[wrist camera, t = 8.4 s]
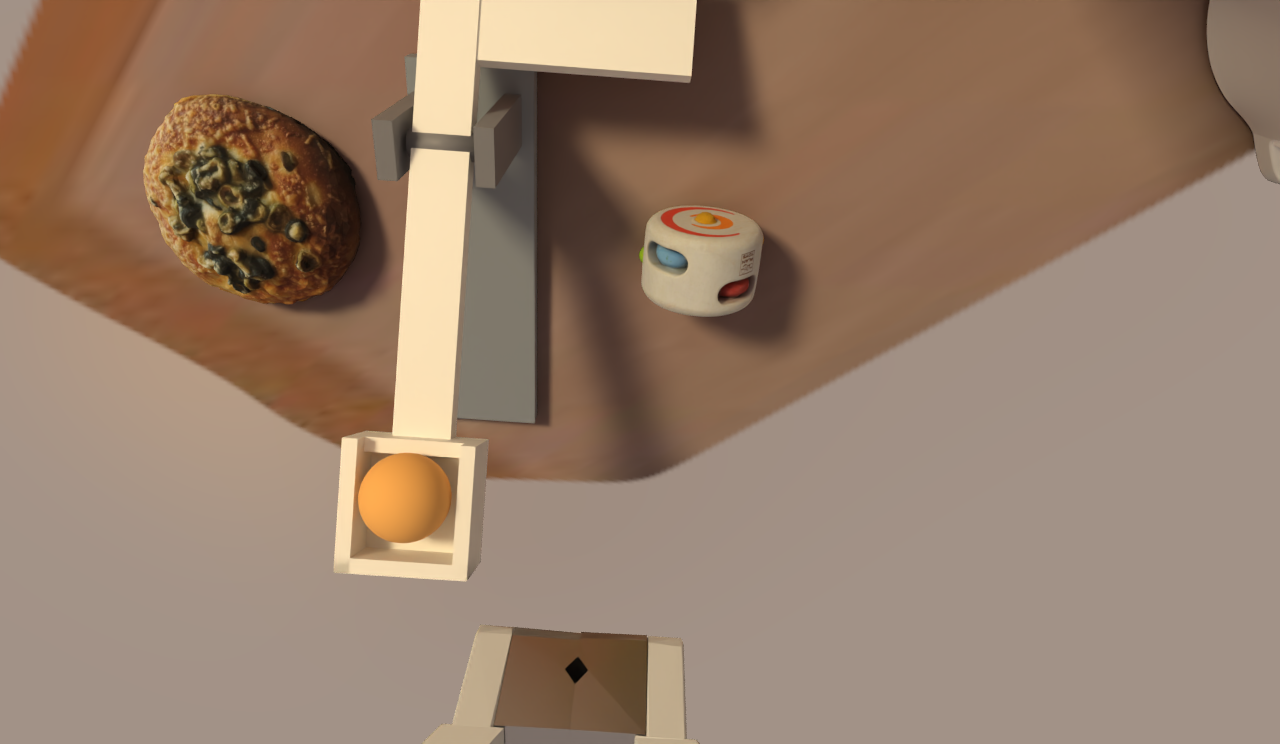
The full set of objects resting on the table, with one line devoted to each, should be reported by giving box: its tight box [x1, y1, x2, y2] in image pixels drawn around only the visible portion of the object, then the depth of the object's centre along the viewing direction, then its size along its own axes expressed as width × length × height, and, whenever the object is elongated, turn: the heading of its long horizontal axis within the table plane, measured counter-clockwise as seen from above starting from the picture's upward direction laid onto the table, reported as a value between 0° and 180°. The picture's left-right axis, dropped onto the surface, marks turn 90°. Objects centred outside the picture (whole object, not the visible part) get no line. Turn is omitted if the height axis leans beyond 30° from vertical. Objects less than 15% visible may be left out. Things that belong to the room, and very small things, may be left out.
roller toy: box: [639, 206, 764, 317], centre depth 38 cm, size 4×6×6 cm
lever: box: [334, 0, 697, 581], centre depth 31 cm, size 26×13×3 cm, turn 177°
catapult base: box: [371, 54, 537, 423], centre depth 38 cm, size 20×6×8 cm, turn 176°
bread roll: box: [143, 94, 361, 304], centre depth 39 cm, size 11×11×5 cm
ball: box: [358, 453, 452, 543], centre depth 30 cm, size 4×4×4 cm
